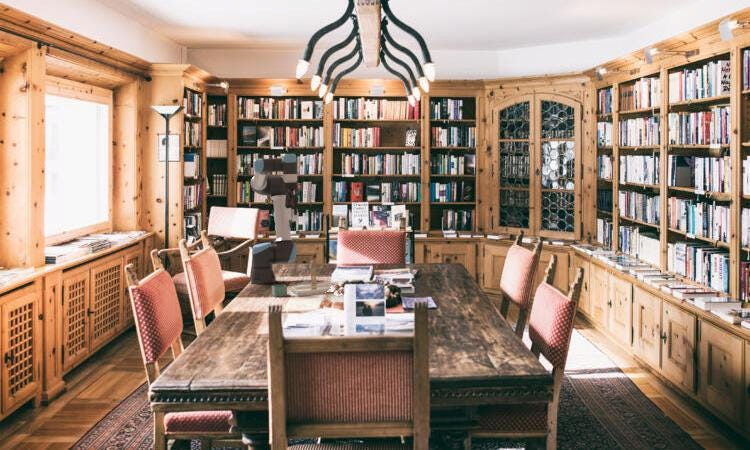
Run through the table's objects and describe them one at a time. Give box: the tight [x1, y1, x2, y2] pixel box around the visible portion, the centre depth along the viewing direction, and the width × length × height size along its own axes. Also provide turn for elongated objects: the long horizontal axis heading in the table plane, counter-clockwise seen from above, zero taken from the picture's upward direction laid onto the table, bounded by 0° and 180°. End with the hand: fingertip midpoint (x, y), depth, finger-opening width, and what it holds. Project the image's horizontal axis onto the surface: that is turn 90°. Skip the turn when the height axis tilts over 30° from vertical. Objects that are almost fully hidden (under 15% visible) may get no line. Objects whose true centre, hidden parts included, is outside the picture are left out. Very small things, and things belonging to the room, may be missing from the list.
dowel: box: [309, 259, 317, 290], centre depth 373 cm, size 3×3×16 cm
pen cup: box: [271, 284, 288, 297], centre depth 368 cm, size 7×7×5 cm
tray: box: [290, 282, 333, 297], centre depth 374 cm, size 16×22×2 cm
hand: (292, 220), depth 380 cm, fingers open, 13 cm apart
